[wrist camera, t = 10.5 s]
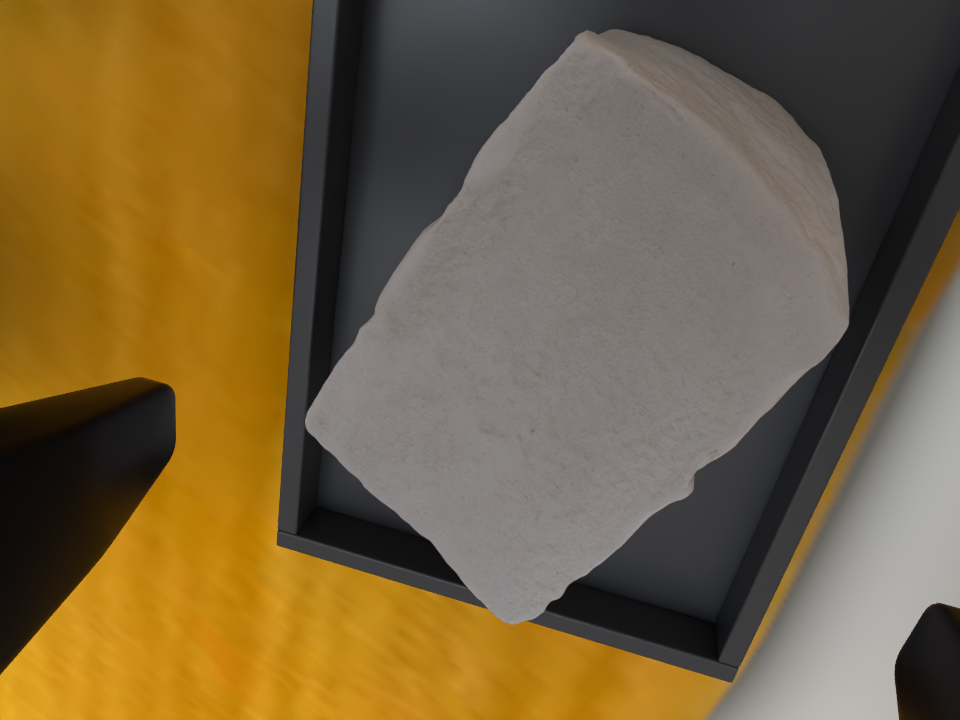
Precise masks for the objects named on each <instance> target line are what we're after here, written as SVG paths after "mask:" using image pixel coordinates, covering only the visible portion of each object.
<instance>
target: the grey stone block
mask: <svg viewBox="0 0 960 720" xmlns="http://www.w3.org/2000/svg"><path fill="white" fill-rule="evenodd" d="M848 325H849V300H848V283H847V262H846V255H845V248H844V238H843V232H842V227H841V221H840V212H839V200H838V197H837V194H836V190H835V187H834V185H833V182H832V179H831V175H830V172H829V169H828V167H827V164H826V161H825V159H824V157H823V155H822V152H821V150H820V148H819V147H818V146H817V145H816V143H814V142H813V141H812V140H811V139H809V138H808V136H807V135H806V134H805V133H804V132H803V130H802V129H801V128H800V127H799V125H798V124H797V123H796V121H795V120H794V118H793V117H792V116H791V115H790V114H789V113H788V112H787V111H786V110H785V109H784V108H783V107H782V106H781V105H780V104H779V103H778V102H777V101H775V100H774V99H773V98H771V97H770V96H768V95H766V94H765V93H763V92H760V91H758V90H756V89H754V88H752V87H751V86H749V85H748V84H746V83H744V82H743V81H741V80H739V79H738V78H736V77H734V76H733V75H731V74H728V73H726V72H724V71H722V70H721V69H720V68H718V67H716V66H714V65H712V64H710V63H709V62H708V61H706V60H704V59H703V58H701V57H699V56H697V55H694V54H692V53H691V52H688V51H686V50H684V49H682V48H680V47H677V46H675V45H671V44H669V43H666V42H664V41H661V40H656V39H653V38H651V37H650V36H644V35H638V34H635V33H631V32H627V31H623V30H619V29H612V30H608V31H606V32H604V33H601V34H599V35H597V34H596V33H594V32H592V31H588V30H586V31H585V32H583V33H580V34H579V35H577V36H576V37H575V39H574V42H573V43H572V44H571V45H570V46H569V47H568V48H567V49H566V51H565V52H564V53H563V54H562V55H561V56H560V58H559V59H558V60H557V61H556V62H555V63H554V64H553V65H551V66H550V67H549V68H548V69H547V70H546V71H545V72H544V73H543V74H542V75H541V77H540V78H539V79H538V81H537V82H536V83H535V85H534V86H533V87H532V89H531V90H530V91H529V92H528V93H527V94H526V95H525V97H524V98H523V99H522V100H521V102H520V103H519V104H518V105H517V106H516V108H515V109H514V110H513V111H512V112H511V113H510V115H509V117H508V118H507V119H506V120H505V121H504V122H503V123H502V124H500V125H499V126H498V128H497V129H496V130H495V131H494V132H493V134H492V135H491V136H490V138H489V139H488V140H487V141H486V143H485V144H484V145H483V147H482V148H481V150H480V151H479V153H478V154H477V156H476V158H475V159H474V162H473V164H472V166H471V168H470V170H469V172H468V174H467V176H466V178H465V180H464V185H463V187H462V189H461V191H460V192H459V193H458V196H457V197H455V198H454V200H453V202H451V203H450V204H449V205H448V206H447V208H446V210H445V212H444V214H443V215H442V216H441V217H440V218H438V219H437V220H436V221H434V222H433V223H432V224H430V225H429V226H428V227H427V228H425V229H424V230H423V231H422V233H421V234H420V236H419V237H418V238H417V239H416V240H415V242H414V243H413V245H412V246H411V247H410V250H409V251H408V252H407V253H406V255H405V257H404V258H403V259H402V261H401V263H400V264H399V265H398V267H397V268H396V270H395V271H394V272H393V274H392V276H391V278H390V279H389V281H388V283H387V284H386V286H385V287H384V289H383V291H382V292H381V294H380V296H379V299H378V301H377V304H376V306H375V314H374V315H373V316H372V318H371V319H369V321H368V322H367V323H366V324H364V325H363V326H362V327H361V328H360V329H359V332H358V334H357V337H356V340H355V342H354V343H353V345H352V346H351V347H350V348H349V349H348V350H347V351H346V352H345V353H344V355H343V356H342V358H341V359H340V360H339V361H338V363H337V364H336V366H335V367H334V369H333V371H332V372H331V375H330V376H329V377H328V379H327V380H326V381H325V383H324V384H323V386H322V389H321V390H320V392H319V394H318V396H317V397H316V399H315V400H314V402H313V403H312V406H311V407H310V409H309V410H308V412H307V415H306V419H305V425H306V428H307V430H308V432H309V433H310V434H311V435H312V436H313V437H315V438H316V439H317V440H318V442H319V443H320V444H321V445H322V446H323V447H324V448H325V449H326V450H328V451H329V452H331V453H332V454H333V455H334V456H335V457H336V458H337V459H338V460H339V462H340V463H341V464H342V465H343V466H344V467H345V468H346V469H347V470H348V471H349V472H350V473H352V474H353V475H354V476H356V477H357V478H358V479H359V480H360V481H361V482H362V484H363V486H364V487H365V488H366V489H367V490H368V491H369V492H370V493H371V494H373V495H374V496H375V497H376V498H378V499H379V500H380V501H381V502H382V503H384V504H386V505H387V506H388V507H389V508H391V509H392V510H394V511H395V512H396V513H397V514H398V515H399V516H400V517H401V518H402V519H403V520H405V521H406V522H407V523H409V524H410V525H411V526H412V527H413V528H414V530H416V531H417V532H418V533H419V534H420V535H422V536H423V537H425V538H427V539H428V540H430V541H431V543H432V544H433V545H434V546H435V547H436V549H437V550H438V551H439V553H440V554H441V555H442V557H443V558H444V560H445V561H446V563H447V564H448V565H449V566H450V567H451V568H452V569H453V570H454V571H455V572H456V573H457V574H458V576H459V577H460V579H461V580H462V581H463V583H464V584H465V585H466V586H467V587H468V589H469V590H470V591H471V592H472V593H473V594H474V595H475V596H476V597H477V598H478V599H479V600H481V601H482V602H483V604H484V605H485V606H486V607H487V608H488V609H489V610H490V611H491V612H492V613H493V614H494V615H495V616H496V617H497V618H499V619H500V620H501V621H504V622H506V623H508V624H518V623H520V622H523V621H528V620H532V619H534V618H536V617H537V616H539V615H540V614H541V613H543V612H544V611H545V609H546V607H547V605H548V604H549V603H550V602H551V601H553V600H556V599H559V598H560V597H561V596H562V595H563V594H564V592H565V590H566V588H567V586H568V585H569V584H571V583H572V582H573V581H575V580H577V579H578V578H580V577H582V576H586V575H587V574H588V573H589V572H590V571H591V570H592V569H593V568H595V567H596V566H598V565H599V564H601V563H602V562H603V561H605V560H606V559H607V558H608V557H609V556H610V555H611V554H613V553H614V552H615V551H616V550H617V549H618V548H620V547H621V546H622V545H623V544H624V543H625V542H626V541H627V540H628V539H629V538H630V537H631V536H632V535H633V533H634V532H635V531H636V530H637V529H638V528H639V527H640V526H641V525H642V524H643V523H644V522H645V521H646V520H647V519H648V518H649V517H650V516H651V515H653V514H654V513H656V512H657V511H659V510H661V509H663V508H664V507H665V506H667V505H668V504H670V503H673V502H675V501H678V500H682V499H684V498H686V497H688V496H689V495H690V494H691V493H692V491H693V488H694V478H695V476H694V475H695V473H696V471H697V470H699V469H701V468H702V467H704V466H705V465H706V464H708V463H710V462H711V461H713V460H716V459H717V458H719V457H721V456H722V455H724V454H725V453H727V452H728V451H729V450H731V449H732V448H734V447H735V446H736V445H737V444H738V442H739V441H740V440H741V439H742V438H743V436H744V435H745V434H746V433H747V432H748V431H749V430H750V429H751V428H752V427H753V425H754V424H755V423H756V422H757V421H758V420H759V419H760V418H761V417H762V416H763V415H764V414H765V413H767V412H768V411H769V410H770V409H771V408H772V407H773V406H774V405H775V404H776V403H777V402H778V401H779V399H780V398H781V397H782V396H783V395H784V394H785V393H786V392H787V391H788V390H789V388H790V387H791V386H792V385H793V384H795V383H796V382H797V381H798V379H799V378H800V377H802V376H803V375H804V374H805V373H806V372H807V371H808V370H809V369H810V368H812V367H814V366H816V365H817V364H818V363H819V362H821V361H822V360H823V359H824V358H825V357H826V356H827V354H828V353H829V352H830V351H831V350H832V349H833V347H834V346H835V345H836V344H837V343H838V342H839V341H840V339H841V337H842V336H843V334H844V333H845V331H846V330H847V328H848Z"/></svg>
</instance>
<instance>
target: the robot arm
mask: <svg viewBox="0 0 960 720" xmlns="http://www.w3.org/2000/svg"><path fill="white" fill-rule="evenodd" d="M175 443H176V416H175V393H174V391H173V389H172V388H171V387H170V386H169V385H168V384H164V383H161V382H157V381H154V380H150V379H147V378H143V377H137V378H132V379H128V380H123V381H119V382H114V383H110V384H105V385H101V386H97V387H92V388H88V389H83V390H79V391H75V392H70V393H66V394H61V395H57V396H52V397H48V398H44V399H39V400H35V401H30V402H26V403H22V404H17V405H13V406H8V407H4V408H0V675H1V673H2V672H3V671H4V670H5V669H6V668H7V666H8V665H9V664H10V663H11V662H12V661H13V660H14V658H15V657H16V656H17V655H18V654H19V653H20V651H21V650H22V649H23V648H24V647H25V646H26V645H27V643H28V642H29V641H30V640H31V639H32V638H33V636H34V635H35V634H36V633H37V632H38V631H39V630H40V628H41V627H42V626H43V625H44V624H45V623H46V621H47V620H48V619H49V618H50V617H51V616H52V614H53V613H54V612H55V611H56V610H57V609H58V608H59V606H60V605H61V604H62V603H63V602H64V601H65V599H66V598H67V597H68V596H69V595H70V594H71V593H72V591H73V590H74V589H75V588H76V587H77V586H78V584H79V583H80V582H81V581H82V580H83V579H84V577H85V576H86V575H87V574H88V573H89V572H90V570H91V569H92V568H93V567H94V566H95V564H96V563H97V562H98V561H99V560H100V558H101V557H102V556H103V555H104V553H105V552H106V550H107V549H108V548H109V546H110V545H111V544H112V542H113V541H114V540H115V538H116V537H117V535H118V534H119V532H120V531H121V530H122V528H123V527H124V525H125V524H126V522H127V521H128V520H129V518H130V517H131V515H132V514H133V512H134V511H135V509H136V508H137V507H138V505H139V504H140V502H141V501H142V499H143V498H144V496H145V495H146V494H147V492H148V491H149V489H150V488H151V486H152V485H153V484H154V482H155V481H156V479H157V478H158V476H159V475H160V473H161V472H162V471H163V469H164V468H165V466H166V465H167V463H168V462H169V460H170V458H171V456H172V454H173V451H174V448H175ZM895 685H896V694H897V703H898V713H899V720H960V608H956V607H952V606H948V605H945V604H941V603H936V604H932V605H931V606H929V607H928V608H927V609H926V610H925V612H924V613H923V614H922V616H921V618H920V619H919V621H918V623H917V624H916V626H915V627H914V629H913V631H912V632H911V634H910V636H909V637H908V639H907V640H906V642H905V644H904V645H903V647H902V649H901V650H900V652H899V655H898V657H897V660H896V664H895Z"/></svg>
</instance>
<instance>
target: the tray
mask: <svg viewBox="0 0 960 720" xmlns="http://www.w3.org/2000/svg"><path fill="white" fill-rule="evenodd" d="M612 29H619V30H623V31H627V32H631V33H635V34H638V35H644V36H650V37H651V38H653V39H656V40H661V41H664V42H666V43H669V44H671V45H675V46H677V47H680V48H682V49H684V50H686V51H688V52H691V53H692V54H694V55H697V56H699V57H701V58H703V59H704V60H706V61H708V62H709V63H710V64H712V65H714V66H716V67H718V68H720V69H721V70H722V71H724V72H726V73H728V74H731V75H733V76H734V77H736V78H738V79H739V80H741V81H743V82H744V83H746V84H748V85H749V86H751V87H752V88H754V89H756V90H758V91H760V92H763V93H765V94H766V95H768V96H770V97H771V98H773V99H774V100H775V101H777V102H778V103H779V104H780V105H781V106H782V107H783V108H784V109H785V110H786V111H787V112H788V113H789V114H790V115H791V116H792V117H793V118H794V120H795V121H796V123H797V124H798V125H799V127H800V128H801V129H802V130H803V132H804V133H805V134H806V135H807V136H808V138H809V139H811V140H812V141H813V142H814V143H816V145H817V146H818V147H819V148H820V150H821V152H822V155H823V157H824V159H825V161H826V164H827V167H828V169H829V172H830V175H831V179H832V182H833V185H834V187H835V190H836V194H837V197H838V200H839V212H840V221H841V227H842V232H843V238H844V248H845V255H846V262H847V283H848V300H849V325H848V328H847V330H846V331H845V333H844V334H843V336H842V337H841V339H840V341H839V342H838V343H837V344H836V345H835V346H834V347H833V349H832V350H831V351H830V352H829V353H828V354H827V356H826V357H825V358H824V359H823V360H822V361H821V362H819V363H818V364H817V365H816V366H814V367H812V368H810V369H809V370H808V371H807V372H806V373H805V374H804V375H803V376H802V377H800V378H799V379H798V381H797V382H796V383H795V384H793V385H792V386H791V387H790V388H789V390H788V391H787V392H786V393H785V394H784V395H783V396H782V397H781V398H780V399H779V401H778V402H777V403H776V404H775V405H774V406H773V407H772V408H771V409H770V410H769V411H768V412H767V413H765V414H764V415H763V416H762V417H761V418H760V419H759V420H758V421H757V422H756V423H755V424H754V425H753V427H752V428H751V429H750V430H749V431H748V432H747V433H746V434H745V435H744V436H743V438H742V439H741V440H740V441H739V442H738V444H737V445H736V446H735V447H734V448H732V449H731V450H729V451H728V452H727V453H725V454H724V455H722V456H721V457H719V458H717V459H716V460H713V461H711V462H710V463H708V464H706V465H705V466H704V467H702V468H701V469H699V470H697V471H696V473H695V475H694V476H695V478H694V488H693V491H692V493H691V494H690V495H689V496H688V497H686V498H684V499H682V500H678V501H675V502H673V503H670V504H668V505H667V506H665V507H664V508H663V509H661V510H659V511H657V512H656V513H654V514H653V515H651V516H650V517H649V518H648V519H647V520H646V521H645V522H644V523H643V524H642V525H641V526H640V527H639V528H638V529H637V530H636V531H635V532H634V533H633V535H632V536H631V537H630V538H629V539H628V540H627V541H626V542H625V543H624V544H623V545H622V546H621V547H620V548H618V549H617V550H616V551H615V552H614V553H613V554H611V555H610V556H609V557H608V558H607V559H606V560H605V561H603V562H602V563H601V564H599V565H598V566H596V567H595V568H593V569H592V570H591V571H590V572H589V573H588V574H587V575H586V576H582V577H580V578H578V579H577V580H575V581H573V582H572V583H571V584H569V585H568V586H567V588H566V590H565V592H564V594H563V595H562V596H561V597H560V598H559V599H556V600H553V601H551V602H550V603H549V604H548V605H547V607H546V609H545V611H544V612H543V613H541V614H540V615H539V616H537V617H536V618H534V619H532V620H528V621H529V622H532V623H535V624H539V625H542V626H545V627H548V628H552V629H555V630H558V631H562V632H565V633H568V634H572V635H575V636H578V637H582V638H585V639H588V640H591V641H595V642H598V643H601V644H605V645H608V646H611V647H615V648H618V649H621V650H624V651H628V652H631V653H634V654H638V655H641V656H644V657H648V658H651V659H654V660H658V661H661V662H664V663H667V664H671V665H674V666H677V667H681V668H684V669H687V670H691V671H694V672H697V673H701V674H704V675H707V676H710V677H714V678H717V679H720V680H724V681H727V682H733V680H734V677H735V675H736V673H737V671H738V669H739V668H738V667H739V666H740V665H741V663H742V661H743V659H744V657H745V654H746V652H747V650H748V648H749V646H750V644H751V642H752V640H753V638H754V636H755V634H756V632H757V629H758V627H759V625H760V623H761V621H762V619H763V617H764V615H765V613H766V611H767V609H768V606H769V604H770V602H771V600H772V598H773V596H774V594H775V592H776V590H777V588H778V586H779V584H780V581H781V579H782V577H783V575H784V573H785V571H786V569H787V567H788V565H789V563H790V561H791V559H792V556H793V554H794V552H795V550H796V548H797V546H798V544H799V542H800V540H801V538H802V536H803V533H804V531H805V529H806V527H807V525H808V523H809V521H810V519H811V517H812V515H813V513H814V511H815V508H816V506H817V504H818V502H819V500H820V498H821V496H822V494H823V492H824V490H825V488H826V485H827V483H828V481H829V479H830V477H831V475H832V473H833V471H834V469H835V467H836V465H837V463H838V460H839V458H840V456H841V454H842V452H843V450H844V448H845V446H846V444H847V442H848V440H849V438H850V435H851V433H852V431H853V429H854V427H855V425H856V423H857V421H858V419H859V417H860V415H861V412H862V410H863V408H864V406H865V404H866V402H867V400H868V398H869V396H870V394H871V392H872V390H873V387H874V385H875V383H876V381H877V379H878V377H879V375H880V373H881V371H882V369H883V367H884V364H885V362H886V360H887V358H888V356H889V354H890V352H891V350H892V348H893V346H894V344H895V342H896V339H897V337H898V335H899V333H900V331H901V329H902V327H903V325H904V323H905V321H906V319H907V317H908V314H909V312H910V310H911V308H912V306H913V304H914V302H915V300H916V298H917V296H918V294H919V291H920V289H921V287H922V285H923V283H924V281H925V279H926V277H927V275H928V273H929V271H930V269H931V266H932V264H933V262H934V260H935V258H936V256H937V254H938V252H939V250H940V248H941V246H942V243H943V241H944V239H945V237H946V235H947V233H948V231H949V229H950V227H951V225H952V223H953V221H954V218H955V216H956V214H957V212H958V210H959V208H960V0H313V9H312V24H311V39H310V54H309V69H308V84H307V98H306V113H305V128H304V143H303V158H302V173H301V188H300V203H299V218H298V233H297V248H296V263H295V278H294V293H293V308H292V323H291V338H290V353H289V368H288V383H287V398H286V413H285V427H284V442H283V457H282V472H281V487H280V502H279V517H278V532H277V545H278V546H281V547H284V548H287V549H291V550H294V551H297V552H301V553H304V554H307V555H310V556H314V557H317V558H320V559H324V560H327V561H330V562H334V563H337V564H340V565H344V566H347V567H350V568H353V569H357V570H360V571H363V572H367V573H370V574H373V575H377V576H380V577H383V578H386V579H390V580H393V581H396V582H400V583H403V584H406V585H410V586H413V587H416V588H420V589H423V590H426V591H429V592H433V593H436V594H439V595H443V596H446V597H449V598H453V599H456V600H459V601H463V602H466V603H469V604H472V605H476V606H479V607H482V608H486V609H488V608H487V607H486V606H485V605H484V604H483V602H482V601H481V600H479V599H478V598H477V597H476V596H475V595H474V594H473V593H472V592H471V591H470V590H469V589H468V587H467V586H466V585H465V584H464V583H463V581H462V580H461V579H460V577H459V576H458V574H457V573H456V572H455V571H454V570H453V569H452V568H451V567H450V566H449V565H448V564H447V563H446V561H445V560H444V558H443V557H442V555H441V554H440V553H439V551H438V550H437V549H436V547H435V546H434V545H433V544H432V543H431V541H430V540H428V539H427V538H425V537H423V536H422V535H420V534H419V533H418V532H417V531H416V530H414V528H413V527H412V526H411V525H410V524H409V523H407V522H406V521H405V520H403V519H402V518H401V517H400V516H399V515H398V514H397V513H396V512H395V511H394V510H392V509H391V508H389V507H388V506H387V505H386V504H384V503H382V502H381V501H380V500H379V499H378V498H376V497H375V496H374V495H373V494H371V493H370V492H369V491H368V490H367V489H366V488H365V487H364V486H363V484H362V482H361V481H360V480H359V479H358V478H357V477H356V476H354V475H353V474H352V473H350V472H349V471H348V470H347V469H346V468H345V467H344V466H343V465H342V464H341V463H340V462H339V460H338V459H337V458H336V457H335V456H334V455H333V454H332V453H331V452H329V451H328V450H326V449H325V448H324V447H323V446H322V445H321V444H320V443H319V442H318V440H317V439H316V438H315V437H313V436H312V435H311V434H310V433H309V432H308V430H307V428H306V425H305V419H306V415H307V412H308V410H309V409H310V407H311V406H312V403H313V402H314V400H315V399H316V397H317V396H318V394H319V392H320V390H321V389H322V386H323V384H324V383H325V381H326V380H327V379H328V377H329V376H330V375H331V372H332V371H333V369H334V367H335V366H336V364H337V363H338V361H339V360H340V359H341V358H342V356H343V355H344V353H345V352H346V351H347V350H348V349H349V348H350V347H351V346H352V345H353V343H354V342H355V340H356V337H357V334H358V332H359V329H360V328H361V327H362V326H363V325H364V324H366V323H367V322H368V321H369V319H371V318H372V316H373V315H374V314H375V306H376V304H377V301H378V299H379V296H380V294H381V292H382V291H383V289H384V287H385V286H386V284H387V283H388V281H389V279H390V278H391V276H392V274H393V272H394V271H395V270H396V268H397V267H398V265H399V264H400V263H401V261H402V259H403V258H404V257H405V255H406V253H407V252H408V251H409V250H410V247H411V246H412V245H413V243H414V242H415V240H416V239H417V238H418V237H419V236H420V234H421V233H422V231H423V230H424V229H425V228H427V227H428V226H429V225H430V224H432V223H433V222H434V221H436V220H437V219H438V218H440V217H441V216H442V215H443V214H444V212H445V210H446V208H447V206H448V205H449V204H450V203H451V202H453V200H454V198H455V197H457V196H458V193H459V192H460V191H461V189H462V187H463V185H464V180H465V178H466V176H467V174H468V172H469V170H470V168H471V166H472V164H473V162H474V159H475V158H476V156H477V154H478V153H479V151H480V150H481V148H482V147H483V145H484V144H485V143H486V141H487V140H488V139H489V138H490V136H491V135H492V134H493V132H494V131H495V130H496V129H497V128H498V126H499V125H500V124H502V123H503V122H504V121H505V120H506V119H507V118H508V117H509V115H510V113H511V112H512V111H513V110H514V109H515V108H516V106H517V105H518V104H519V103H520V102H521V100H522V99H523V98H524V97H525V95H526V94H527V93H528V92H529V91H530V90H531V89H532V87H533V86H534V85H535V83H536V82H537V81H538V79H539V78H540V77H541V75H542V74H543V73H544V72H545V71H546V70H547V69H548V68H549V67H550V66H551V65H553V64H554V63H555V62H556V61H557V60H558V59H559V58H560V56H561V55H562V54H563V53H564V52H565V51H566V49H567V48H568V47H569V46H570V45H571V44H572V43H573V42H574V39H575V37H576V36H577V35H579V34H580V33H583V32H585V31H586V30H588V31H592V32H594V33H596V34H597V35H599V34H601V33H604V32H606V31H608V30H612Z"/></svg>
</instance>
